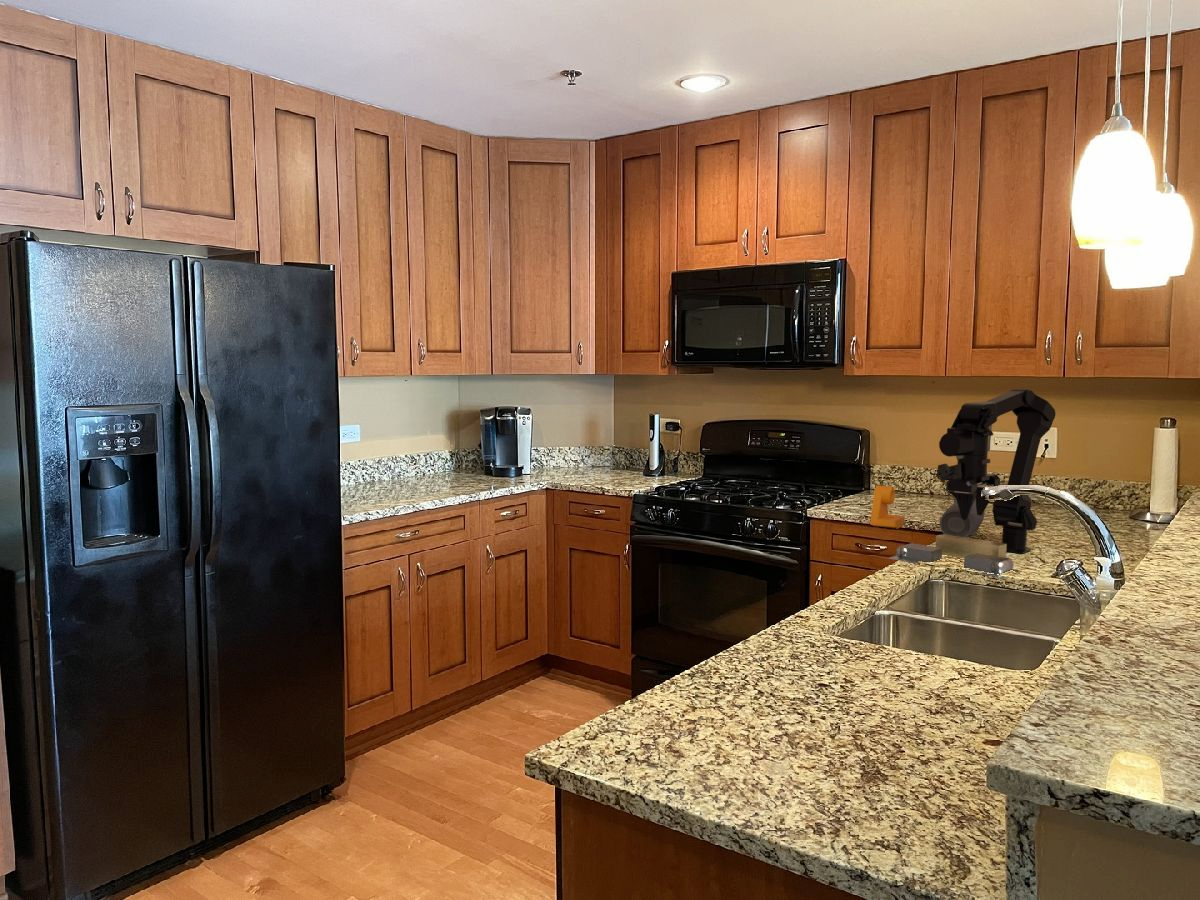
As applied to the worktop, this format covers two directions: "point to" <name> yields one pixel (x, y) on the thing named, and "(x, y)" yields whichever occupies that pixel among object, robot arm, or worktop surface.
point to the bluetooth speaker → (960, 521)
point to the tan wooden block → (968, 546)
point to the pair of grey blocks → (971, 561)
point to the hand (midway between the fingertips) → (972, 517)
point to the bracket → (884, 508)
